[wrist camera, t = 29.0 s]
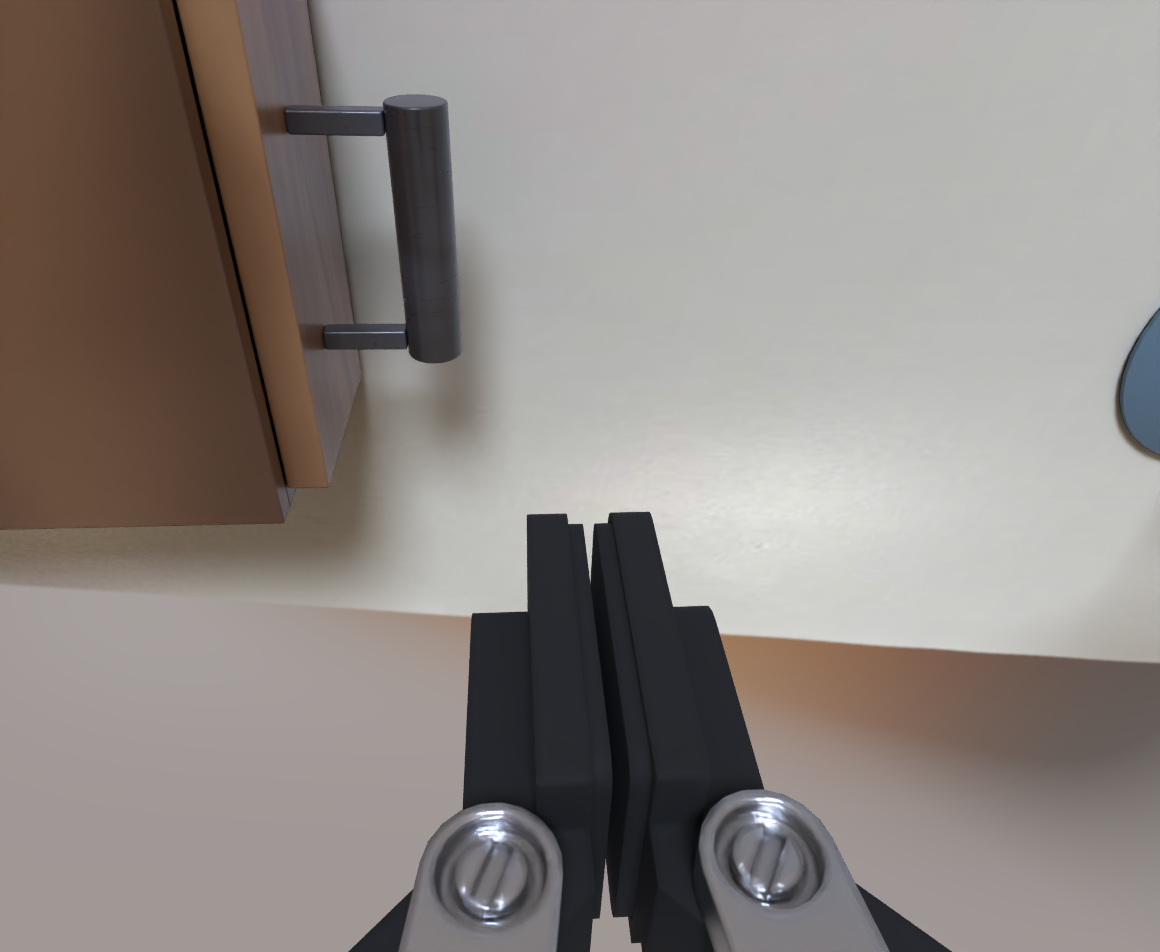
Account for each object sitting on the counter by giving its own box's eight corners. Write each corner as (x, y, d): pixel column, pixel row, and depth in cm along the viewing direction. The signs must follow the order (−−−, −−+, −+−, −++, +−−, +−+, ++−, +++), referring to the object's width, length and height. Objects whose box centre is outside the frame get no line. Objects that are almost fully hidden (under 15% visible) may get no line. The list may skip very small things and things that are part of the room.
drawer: (448, -61, 22) (429, -43, 16) (472, 375, 30) (464, 485, 24) (-337, -89, 20) (-652, -80, 15) (-89, 379, 28) (-233, 499, 22)
